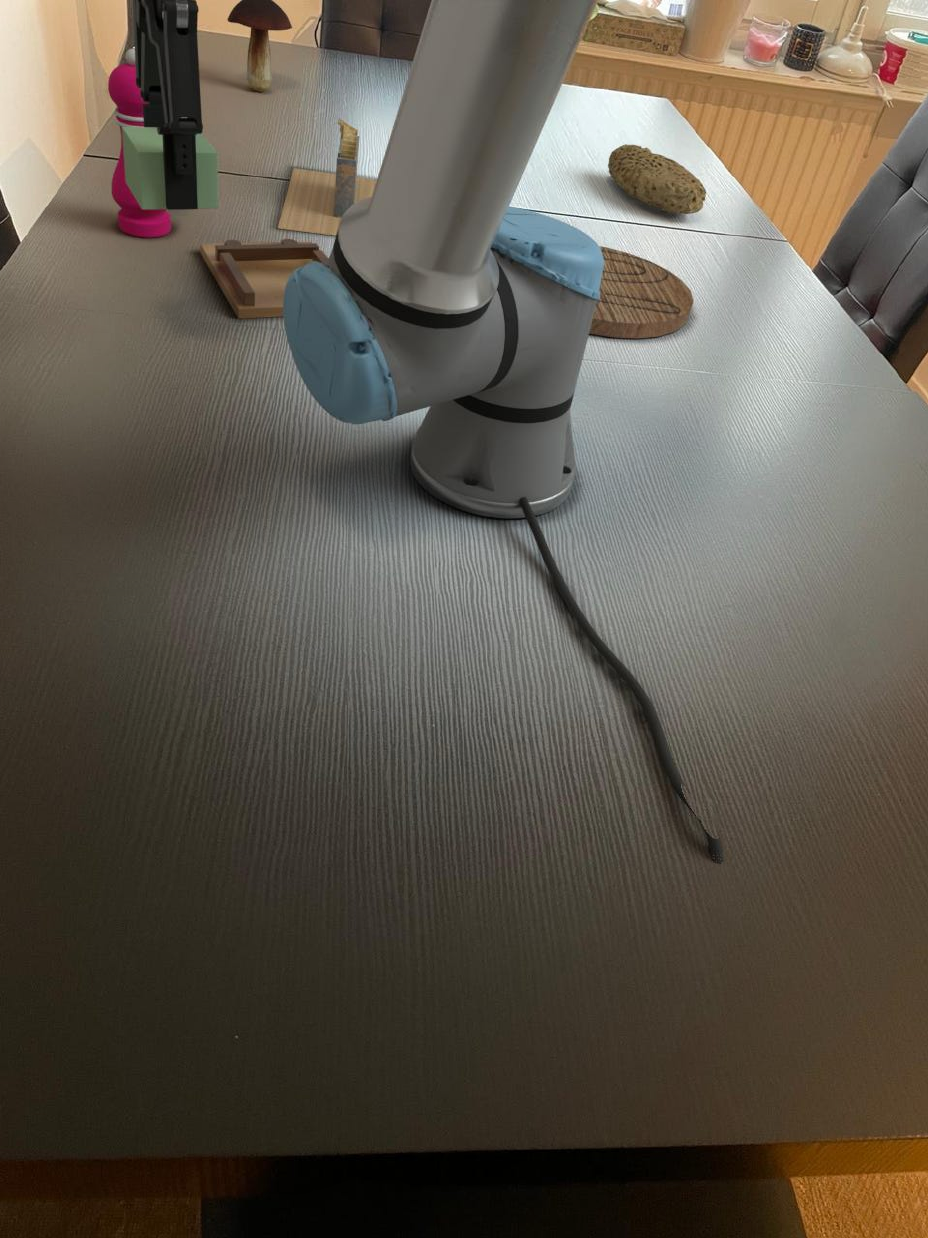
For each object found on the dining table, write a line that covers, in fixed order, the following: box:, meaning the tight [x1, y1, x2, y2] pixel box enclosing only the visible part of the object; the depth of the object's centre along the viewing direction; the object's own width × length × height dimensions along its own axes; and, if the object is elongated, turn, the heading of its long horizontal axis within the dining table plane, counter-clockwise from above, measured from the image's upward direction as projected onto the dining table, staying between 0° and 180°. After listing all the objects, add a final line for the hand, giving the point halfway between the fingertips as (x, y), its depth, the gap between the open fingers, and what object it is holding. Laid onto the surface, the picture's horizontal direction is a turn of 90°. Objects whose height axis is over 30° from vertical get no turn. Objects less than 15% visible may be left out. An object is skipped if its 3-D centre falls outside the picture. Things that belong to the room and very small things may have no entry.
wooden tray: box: [199, 238, 329, 320], centre depth 116 cm, size 18×14×3 cm
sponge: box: [607, 143, 707, 215], centre depth 159 cm, size 13×8×20 cm
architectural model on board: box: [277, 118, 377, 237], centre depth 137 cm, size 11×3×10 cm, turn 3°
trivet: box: [589, 245, 695, 339], centre depth 127 cm, size 25×25×2 cm
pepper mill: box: [107, 48, 172, 239], centre depth 117 cm, size 7×7×20 cm
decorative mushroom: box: [226, 0, 293, 93], centre depth 172 cm, size 11×11×15 cm
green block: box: [122, 127, 219, 210], centre depth 91 cm, size 7×7×5 cm
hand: (171, 192), depth 93 cm, fingers closed on green block, 7 cm apart
